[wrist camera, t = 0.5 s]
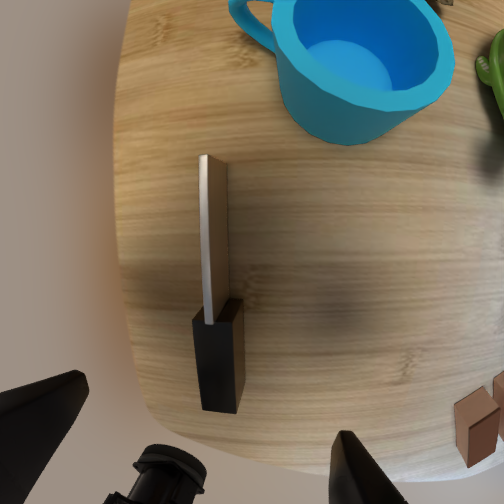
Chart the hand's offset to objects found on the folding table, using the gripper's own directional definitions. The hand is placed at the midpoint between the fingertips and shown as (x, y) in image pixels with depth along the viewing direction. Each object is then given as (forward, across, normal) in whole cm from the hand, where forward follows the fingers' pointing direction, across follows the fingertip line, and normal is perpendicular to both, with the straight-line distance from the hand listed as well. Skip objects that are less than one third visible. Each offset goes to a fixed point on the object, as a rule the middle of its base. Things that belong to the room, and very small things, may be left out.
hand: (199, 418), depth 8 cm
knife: (+12, +2, 0) cm, 12 cm away
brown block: (+12, -24, +12) cm, 29 cm away
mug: (+13, -3, -15) cm, 20 cm away
